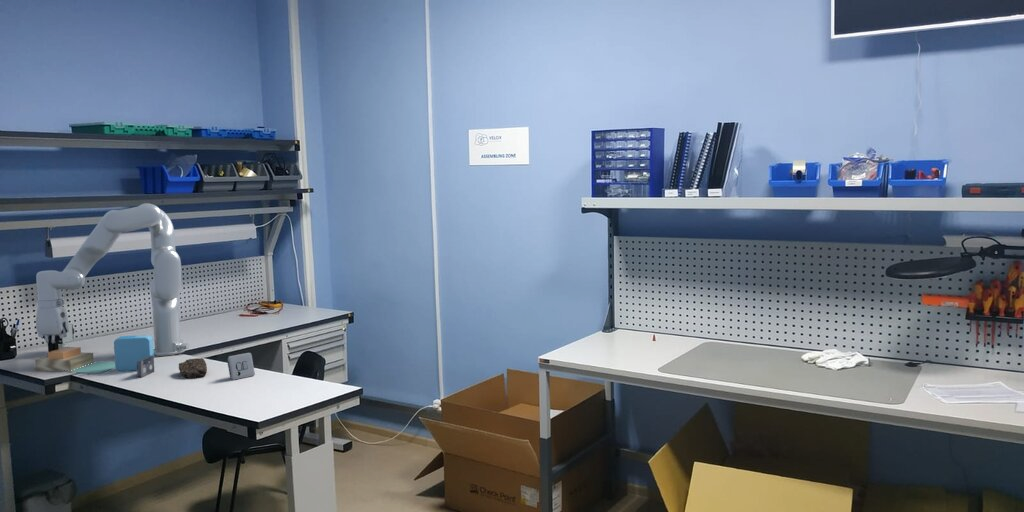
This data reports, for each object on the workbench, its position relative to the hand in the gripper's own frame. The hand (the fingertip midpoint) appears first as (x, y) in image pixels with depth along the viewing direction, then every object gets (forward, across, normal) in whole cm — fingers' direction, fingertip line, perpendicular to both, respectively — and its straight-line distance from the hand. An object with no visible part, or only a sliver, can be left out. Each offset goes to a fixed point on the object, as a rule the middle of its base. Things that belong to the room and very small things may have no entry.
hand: (53, 352), depth 271 cm
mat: (+5, -18, 0) cm, 19 cm away
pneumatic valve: (+5, +13, -19) cm, 23 cm away
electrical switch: (+5, -76, +6) cm, 77 cm away
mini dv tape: (+5, -41, +7) cm, 42 cm away
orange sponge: (+1, -5, 0) cm, 5 cm away
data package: (+5, -32, 0) cm, 33 cm away
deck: (+5, -4, 0) cm, 7 cm away
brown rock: (+5, -58, +4) cm, 59 cm away
